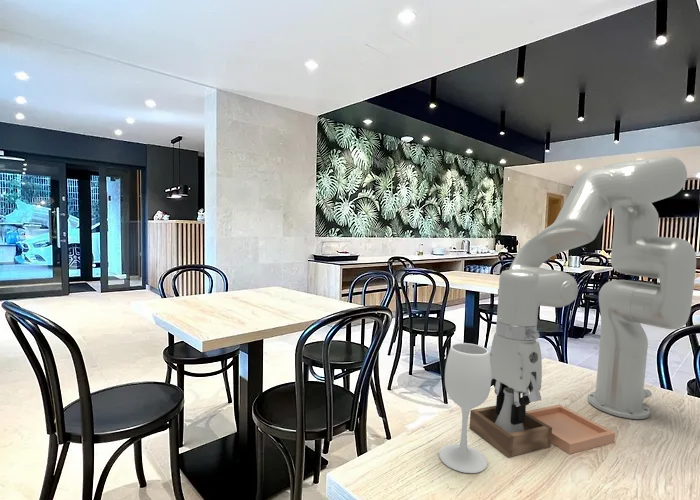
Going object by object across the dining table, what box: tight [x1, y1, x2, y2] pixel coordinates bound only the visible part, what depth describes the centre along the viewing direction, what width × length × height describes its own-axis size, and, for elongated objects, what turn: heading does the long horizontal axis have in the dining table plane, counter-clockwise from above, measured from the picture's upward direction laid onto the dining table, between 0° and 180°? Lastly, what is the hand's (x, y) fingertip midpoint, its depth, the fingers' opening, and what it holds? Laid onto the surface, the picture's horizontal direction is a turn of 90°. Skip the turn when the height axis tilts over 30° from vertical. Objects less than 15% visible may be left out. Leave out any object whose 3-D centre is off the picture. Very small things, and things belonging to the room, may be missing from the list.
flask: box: [495, 387, 525, 434], centre depth 79 cm, size 7×7×10 cm
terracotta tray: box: [526, 404, 616, 455], centre depth 83 cm, size 13×13×2 cm
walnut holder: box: [469, 405, 552, 459], centre depth 79 cm, size 11×11×4 cm
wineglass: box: [438, 342, 492, 474], centre depth 71 cm, size 9×9×21 cm
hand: (509, 417), depth 79 cm, fingers closed on flask, 3 cm apart
